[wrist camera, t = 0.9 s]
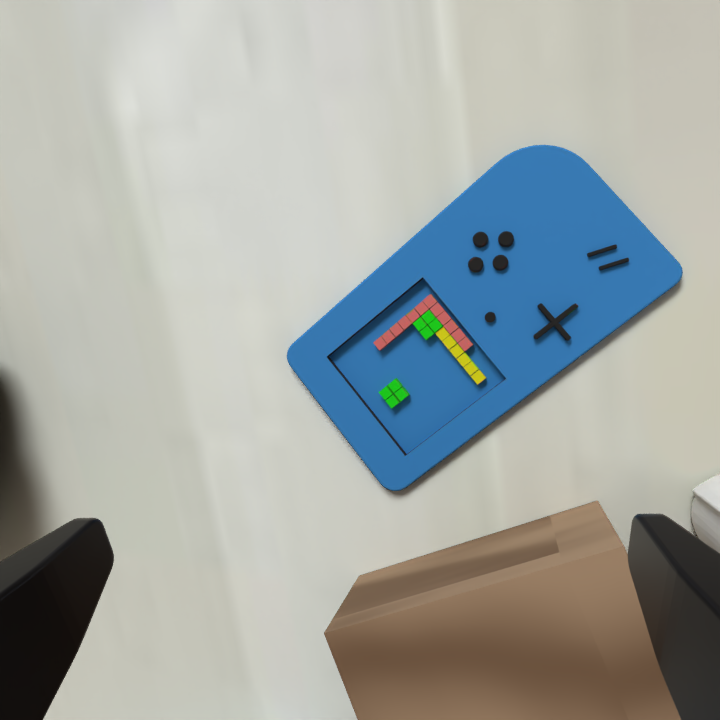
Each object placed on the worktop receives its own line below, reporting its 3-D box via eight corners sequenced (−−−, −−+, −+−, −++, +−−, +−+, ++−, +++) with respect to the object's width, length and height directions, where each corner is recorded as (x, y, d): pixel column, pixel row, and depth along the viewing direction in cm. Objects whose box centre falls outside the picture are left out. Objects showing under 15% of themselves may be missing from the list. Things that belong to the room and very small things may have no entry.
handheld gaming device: (692, 273, 20) (390, 500, 24) (683, 276, 21) (395, 493, 25) (546, 115, 21) (277, 354, 25) (544, 126, 22) (287, 353, 26)
